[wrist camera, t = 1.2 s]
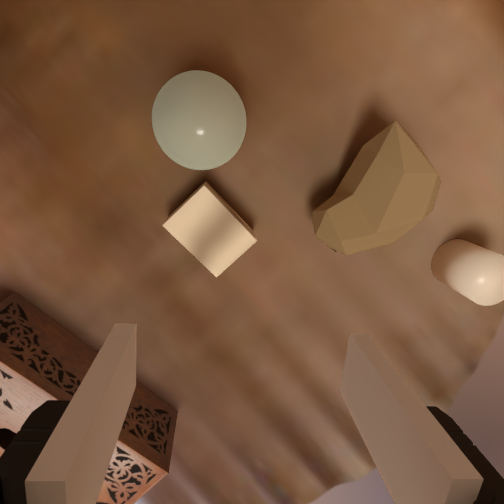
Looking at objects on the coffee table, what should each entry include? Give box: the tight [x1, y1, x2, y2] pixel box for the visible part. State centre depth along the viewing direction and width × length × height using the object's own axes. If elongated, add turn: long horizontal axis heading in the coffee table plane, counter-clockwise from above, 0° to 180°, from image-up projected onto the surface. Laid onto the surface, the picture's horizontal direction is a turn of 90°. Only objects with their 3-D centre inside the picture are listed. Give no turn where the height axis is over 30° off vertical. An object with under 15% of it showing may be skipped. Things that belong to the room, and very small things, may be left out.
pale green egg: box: [152, 70, 246, 170], centre depth 35 cm, size 8×8×9 cm
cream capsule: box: [431, 239, 504, 306], centre depth 43 cm, size 6×6×7 cm
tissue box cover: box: [0, 292, 178, 504], centre depth 42 cm, size 26×14×10 cm, turn 44°
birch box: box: [162, 181, 257, 277], centre depth 40 cm, size 8×6×5 cm
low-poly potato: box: [312, 120, 441, 255], centre depth 38 cm, size 15×11×12 cm
